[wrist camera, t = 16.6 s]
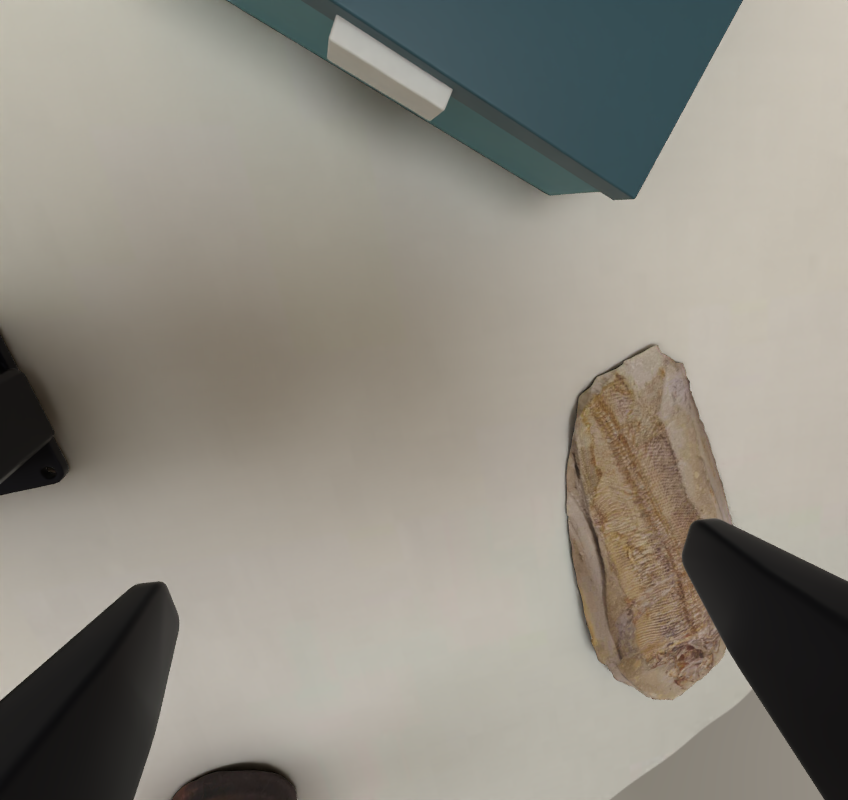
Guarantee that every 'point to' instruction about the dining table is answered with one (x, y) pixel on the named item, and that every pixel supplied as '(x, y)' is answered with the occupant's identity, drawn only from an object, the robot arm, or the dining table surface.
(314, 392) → the dining table surface
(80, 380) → the dining table surface
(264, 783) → the mortar and pestle
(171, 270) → the dining table surface
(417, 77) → the lunch box
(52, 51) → the dining table surface
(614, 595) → the fish fossil
